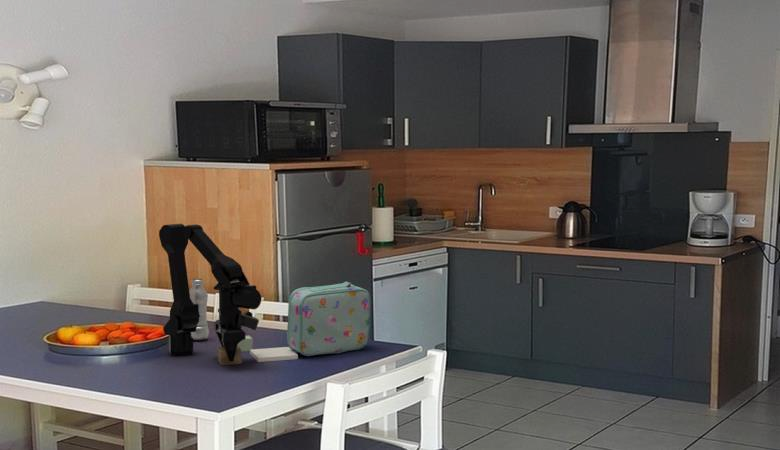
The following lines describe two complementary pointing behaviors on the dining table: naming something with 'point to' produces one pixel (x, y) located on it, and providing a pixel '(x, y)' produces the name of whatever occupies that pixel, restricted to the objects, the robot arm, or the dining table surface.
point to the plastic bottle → (200, 308)
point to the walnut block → (224, 358)
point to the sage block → (246, 344)
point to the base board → (273, 354)
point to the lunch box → (328, 319)
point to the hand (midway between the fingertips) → (229, 358)
